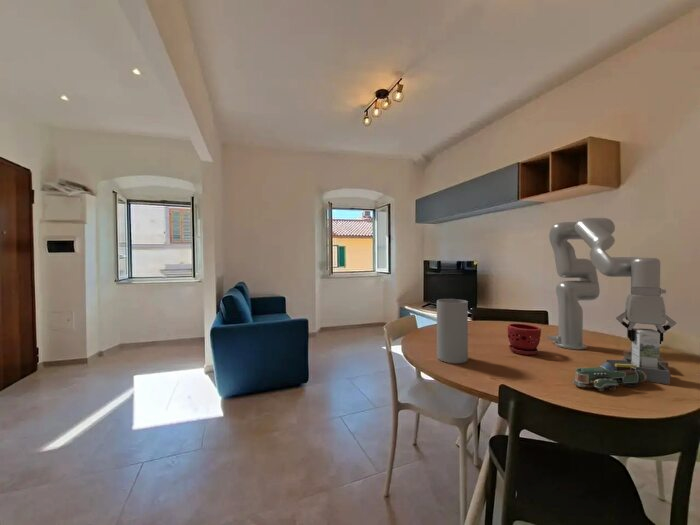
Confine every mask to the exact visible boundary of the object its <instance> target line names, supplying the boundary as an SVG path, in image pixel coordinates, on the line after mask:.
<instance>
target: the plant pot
mask: <svg viewBox="0 0 700 525" xmlns="http://www.w3.org/2000/svg"><path fill="white" fill-rule="evenodd" d="M541 335H542V328H541V327H539V326H535V325H532V324H527V323H526V324H523V323H509V324H508V325H507V338H508V342H509V345H508V348H509V350H510V351H511V352H513V353H515V354H519V355H526V356H529V355H531V356H532V355H536V354H538V352H539V349H538V346H540V345H539V344H540V341H541Z"/></svg>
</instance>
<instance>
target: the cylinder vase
mask: <svg viewBox="0 0 700 525" xmlns="http://www.w3.org/2000/svg"><path fill="white" fill-rule="evenodd" d="M468 303H469V301H468V300H465V299H456V298H442V299H441V298H440V299H437V300H436V357H437V359H438V360H439V361H441V362H443V361H444V363H446V362H447V364H452V363H453V364H454V365H455V364H457V365H459V364H464V363H466V362H468V359H469V343H468V342H469V339H468V338H469V329H468V328H469V322H468V321H469V318H468V316H469V312H468V311H469V310H468V309H469V308H468ZM453 364H452V365H453Z"/></svg>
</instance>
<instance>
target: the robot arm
mask: <svg viewBox="0 0 700 525" xmlns="http://www.w3.org/2000/svg"><path fill="white" fill-rule="evenodd" d="M615 229H616V225H615V223H614V221H612V220H611V219H610V218H606V217H585V218H581V219H579V220H577V221H563V222H558V223H555V224H553V225H552V226H551V228H550V230H549V234H548V238H549V243H550V245H551V248H552V250H553V254H554V255H553V257H554V261H555V263H554V264H555V267H556V268H555V269H556V273H557V275H558V277H560V278H563V279H579V280H564V281H563V280H562V281H561V282H559V283H557V285H556V288H555V293H556V297H557V304H558V309H557V310H558V318H557V319H558V333H557V335H549V334H547V336H546V337H547V338H546V339H547V340H550V341H554V344H555V346H557V347H560V348H564V349H570V350H586V349H587V348H588V346H587V344H585V343H584V340H583V339H584V337H583V335H584V330H583V328H584V327H583V326H584V325H583V324H584V316H583V315H584V311H583V308H582V306H581V304H580V303H579V301H595V300H597V298H599V295H600V293H601V292H600V290H601V288H600V283H599V279H598V272H599V273H600V274H602V275H604V276H606V277H609V278H615V277H616V278H619V277H624V278H625V277H626V278H630V294H627V298H626V301H625V307H624V308H625V309H624V310H625V311H624V312H623V313H620V314H619V315H618V316H616V317H615V320H617V321H618V322H619V323H620V324H621V325H622V326H624V328H626V330H627V332H626V335H627V339H628V340H629V341H630V342H631V341H634V330H633V328H635V325H636V324H642V325H653V326H655V327H656V329H657V330H656V331H657V332H659V333H660V345H662V342H664V334H665V333H666V332H667V331H669V330H670V329H671V328H672V327H674V326H676V325H677V322H676V320H674V319H672V318H671V317H669V315H667V312H666V305H665V301H664V297H663V296H661V295H663V294H666V292H667V290H666V289H663V288H661V260H660V259H659V258H657V257H637V256H636V257H635V256H610V254H608V253H607V252H606V251H608V250H609V249H611V247H612V246H613V245H614V244H615V237H614V236H613V234H614V232H615ZM569 240H583V241H584V242H585V243H586V244H587V246H589V248H590V251H589V257H590V259H588V258H578V257H577V255H576V250H575V248H574V247H573V245H572V243H570V242H569ZM597 271H598V272H597ZM624 319H625V320H626V321H628V322H625V321H624ZM667 322H668V323H667Z"/></svg>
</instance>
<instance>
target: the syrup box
mask: <svg viewBox="0 0 700 525" xmlns="http://www.w3.org/2000/svg"><path fill="white" fill-rule="evenodd" d="M633 330H634V341H631V340H630V352H631V363H632V364H635V365H637V367H643V368H651V369H658V370H659V358H660V357H661V355H660V353H661V352H660V351H661V350H660V348H661V347H660V346H661V344H660V333H659V332H657V330H655V329H653V328H643V327H642V328H641V327H633ZM659 356H660V357H659Z"/></svg>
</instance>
